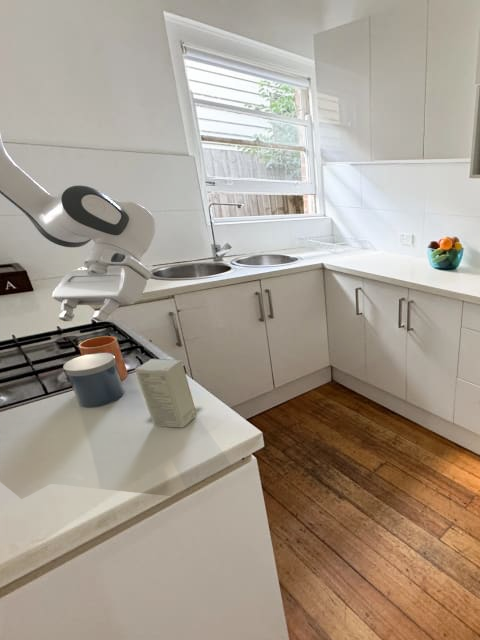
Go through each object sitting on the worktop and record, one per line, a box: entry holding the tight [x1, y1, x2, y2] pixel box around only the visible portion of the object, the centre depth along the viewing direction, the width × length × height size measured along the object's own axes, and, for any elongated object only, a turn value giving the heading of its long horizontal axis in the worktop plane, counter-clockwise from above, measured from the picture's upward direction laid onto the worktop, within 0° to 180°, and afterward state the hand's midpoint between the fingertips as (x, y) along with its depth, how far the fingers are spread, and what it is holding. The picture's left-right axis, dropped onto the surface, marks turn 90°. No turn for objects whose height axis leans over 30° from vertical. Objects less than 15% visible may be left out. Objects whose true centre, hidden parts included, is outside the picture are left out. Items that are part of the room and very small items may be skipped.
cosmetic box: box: [134, 358, 198, 428], centre depth 70 cm, size 6×4×12 cm
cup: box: [78, 335, 129, 381], centre depth 85 cm, size 7×7×9 cm
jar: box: [62, 353, 125, 408], centre depth 77 cm, size 8×8×8 cm
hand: (81, 320), depth 79 cm, fingers open, 8 cm apart
